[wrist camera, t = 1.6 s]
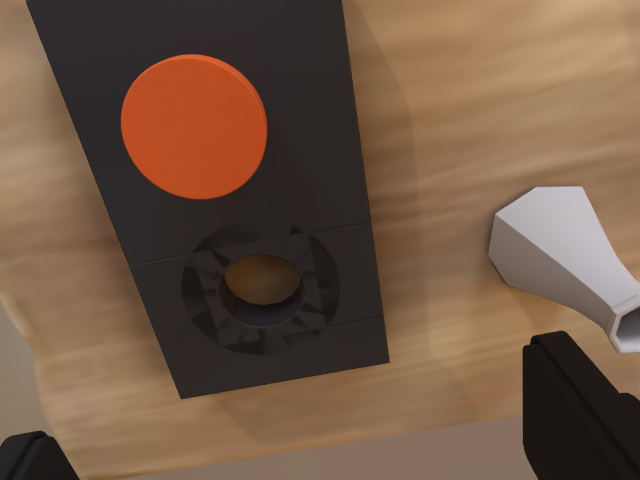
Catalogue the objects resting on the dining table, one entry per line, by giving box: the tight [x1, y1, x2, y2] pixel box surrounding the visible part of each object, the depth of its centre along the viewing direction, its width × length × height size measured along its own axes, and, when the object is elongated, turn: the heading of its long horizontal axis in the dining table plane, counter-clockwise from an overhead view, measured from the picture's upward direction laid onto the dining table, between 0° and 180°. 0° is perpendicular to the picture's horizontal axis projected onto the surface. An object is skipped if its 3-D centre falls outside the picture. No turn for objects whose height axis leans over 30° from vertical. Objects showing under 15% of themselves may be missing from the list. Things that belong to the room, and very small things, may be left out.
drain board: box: [26, 0, 390, 399], centre depth 28 cm, size 24×14×2 cm, turn 9°
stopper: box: [121, 54, 267, 199], centre depth 21 cm, size 6×6×6 cm
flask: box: [488, 186, 640, 354], centre depth 27 cm, size 7×7×10 cm
